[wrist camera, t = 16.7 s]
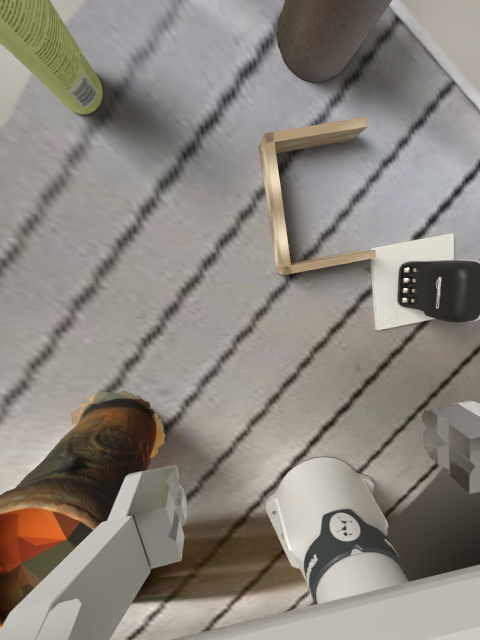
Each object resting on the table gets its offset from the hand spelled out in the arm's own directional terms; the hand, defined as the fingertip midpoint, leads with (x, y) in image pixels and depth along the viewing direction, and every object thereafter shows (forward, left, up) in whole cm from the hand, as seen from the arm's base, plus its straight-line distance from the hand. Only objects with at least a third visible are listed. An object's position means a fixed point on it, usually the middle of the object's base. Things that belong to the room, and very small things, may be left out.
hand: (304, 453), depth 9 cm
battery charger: (-2, -24, -31) cm, 39 cm away
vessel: (-16, +21, -31) cm, 41 cm away
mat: (-2, -26, -31) cm, 41 cm away
